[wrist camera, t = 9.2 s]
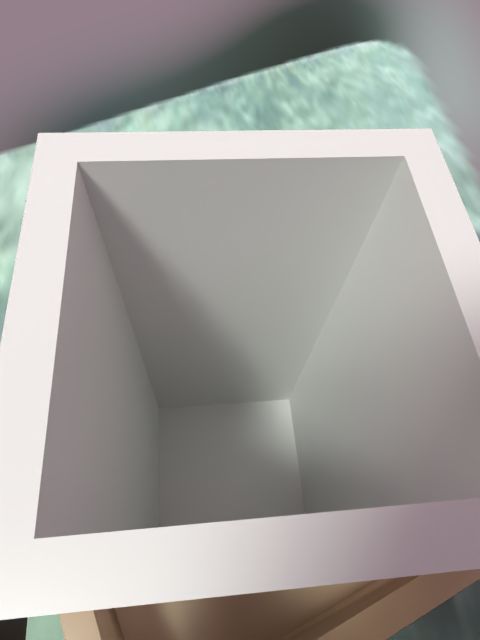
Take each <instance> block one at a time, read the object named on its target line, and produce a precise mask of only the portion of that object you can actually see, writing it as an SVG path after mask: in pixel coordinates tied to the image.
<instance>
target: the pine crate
mask: <svg viewBox="0 0 480 640" xmlns="http://www.w3.org/2000/svg"><path fill="white" fill-rule="evenodd" d="M479 579H480V569H473V570H463V571H454V572H445V573H435V574H426V575H417V576H407V577H398V578H389V579H379V580H370V581H361V582H351V583H342V584H333V585H323V586H314V587H305V588H295V589H286V590H277V591H267V592H258V593H249V594H239V595H230V596H221V597H211V598H202V599H193V600H183V601H174V602H165V603H155V604H146V605H137V606H127V607H118V608H109V609H99V610H90V611H81V612H71V613H62V614H59V617H60V621H61V625H62V629H63V633H64V637H65V640H387V639H388V638H390V637H391V636H393V635H394V634H396V633H397V632H399V631H400V630H402V629H403V628H405V627H407V626H408V625H410V624H411V623H413V622H414V621H416V620H417V619H419V618H420V617H422V616H423V615H425V614H427V613H428V612H430V611H431V610H433V609H434V608H436V607H437V606H439V605H440V604H442V603H443V602H445V601H446V600H448V599H450V598H451V597H453V596H454V595H456V594H457V593H459V592H460V591H462V590H463V589H465V588H466V587H468V586H470V585H471V584H473V583H474V582H476V581H477V580H479Z"/></svg>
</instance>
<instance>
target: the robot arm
mask: <svg viewBox="0 0 480 640" xmlns="http://www.w3.org/2000/svg"><path fill="white" fill-rule="evenodd" d="M26 627H27V617H25V618H15V619H6V620H0V640H25V638H26Z"/></svg>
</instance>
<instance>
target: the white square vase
mask: <svg viewBox="0 0 480 640" xmlns="http://www.w3.org/2000/svg"><path fill="white" fill-rule="evenodd" d="M473 569H480V242H479V240H478V237H477V235H476V233H475V230H474V228H473V226H472V223H471V221H470V219H469V216H468V214H467V211H466V209H465V207H464V204H463V202H462V200H461V197H460V195H459V193H458V190H457V188H456V186H455V183H454V181H453V179H452V176H451V174H450V171H449V169H448V167H447V164H446V162H445V160H444V157H443V155H442V153H441V150H440V148H439V146H438V143H437V141H436V138H435V136H434V134H433V131H432V129H356V130H269V131H182V132H95V133H38V138H37V144H36V149H35V155H34V160H33V166H32V171H31V177H30V183H29V188H28V194H27V199H26V205H25V210H24V216H23V222H22V227H21V233H20V238H19V244H18V249H17V255H16V261H15V266H14V272H13V277H12V283H11V288H10V294H9V300H8V305H7V311H6V316H5V322H4V327H3V333H2V339H1V344H0V620H6V619H15V618H25V617H34V616H43V615H53V614H62V613H71V612H81V611H90V610H99V609H109V608H118V607H127V606H137V605H146V604H155V603H165V602H174V601H183V600H193V599H202V598H211V597H221V596H230V595H239V594H249V593H258V592H267V591H277V590H286V589H295V588H305V587H314V586H323V585H333V584H342V583H351V582H361V581H370V580H379V579H389V578H398V577H407V576H417V575H426V574H435V573H445V572H454V571H463V570H473Z"/></svg>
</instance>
